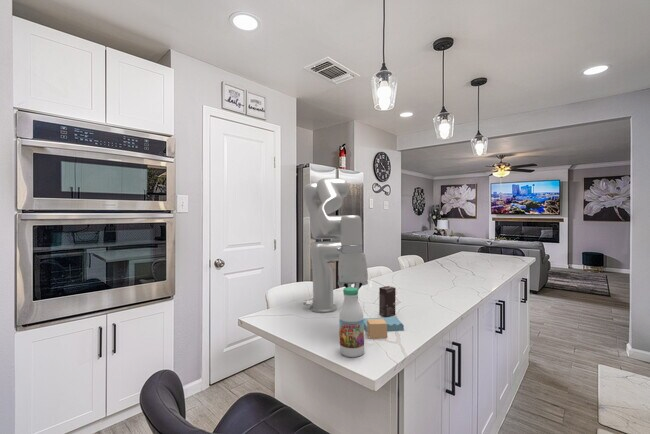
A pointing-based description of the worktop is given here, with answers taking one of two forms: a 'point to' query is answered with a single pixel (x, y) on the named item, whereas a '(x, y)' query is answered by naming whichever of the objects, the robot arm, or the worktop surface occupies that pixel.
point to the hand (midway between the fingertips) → (353, 301)
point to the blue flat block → (388, 323)
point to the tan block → (376, 328)
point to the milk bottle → (351, 325)
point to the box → (387, 301)
